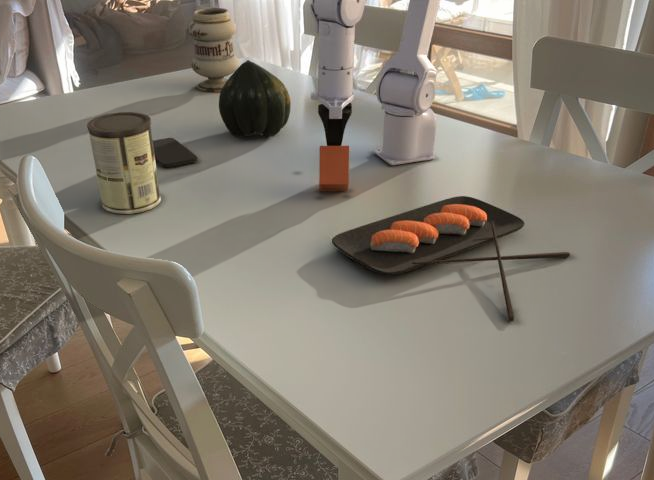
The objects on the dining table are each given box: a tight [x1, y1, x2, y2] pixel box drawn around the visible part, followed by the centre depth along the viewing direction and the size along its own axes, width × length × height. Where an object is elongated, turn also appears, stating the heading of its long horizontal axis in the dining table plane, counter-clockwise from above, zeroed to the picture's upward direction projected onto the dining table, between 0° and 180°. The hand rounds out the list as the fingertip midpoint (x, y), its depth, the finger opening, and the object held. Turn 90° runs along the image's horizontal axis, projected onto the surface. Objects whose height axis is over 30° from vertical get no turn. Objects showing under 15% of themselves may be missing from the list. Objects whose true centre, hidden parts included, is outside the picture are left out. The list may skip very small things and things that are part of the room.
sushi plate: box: [331, 195, 571, 322], centre depth 102 cm, size 29×30×4 cm
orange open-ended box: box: [318, 145, 350, 192], centre depth 123 cm, size 6×5×5 cm
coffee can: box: [86, 111, 162, 215], centre depth 120 cm, size 10×10×14 cm
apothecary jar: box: [188, 7, 240, 93], centre depth 178 cm, size 12×12×18 cm
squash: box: [218, 59, 292, 138], centre depth 149 cm, size 14×15×15 cm
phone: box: [153, 137, 198, 168], centre depth 142 cm, size 7×1×15 cm
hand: (334, 148), depth 123 cm, fingers closed
